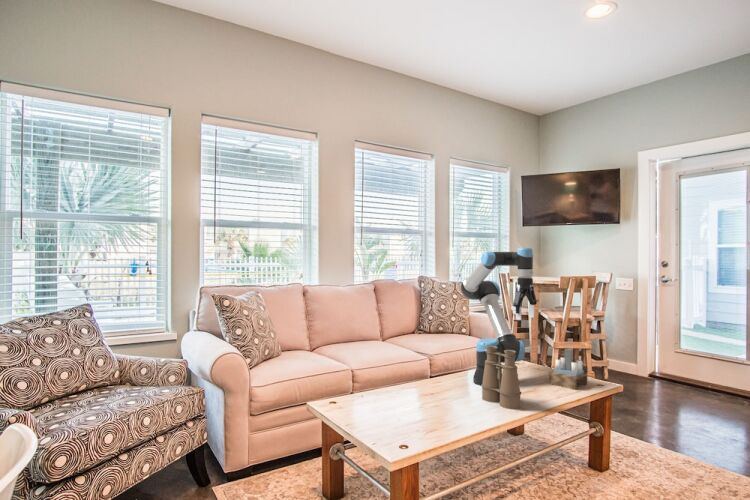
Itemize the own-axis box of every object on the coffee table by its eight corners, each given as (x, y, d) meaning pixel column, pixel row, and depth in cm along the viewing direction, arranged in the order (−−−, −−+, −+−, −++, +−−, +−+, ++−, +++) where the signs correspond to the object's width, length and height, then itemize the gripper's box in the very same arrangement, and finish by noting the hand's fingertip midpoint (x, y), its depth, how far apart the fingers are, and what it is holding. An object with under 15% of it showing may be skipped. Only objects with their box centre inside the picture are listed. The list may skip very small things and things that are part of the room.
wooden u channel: (549, 383, 226) (548, 366, 226) (561, 378, 236) (561, 361, 236) (575, 389, 216) (575, 371, 216) (587, 384, 226) (587, 366, 226)
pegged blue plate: (553, 371, 228) (553, 348, 228) (562, 368, 234) (561, 346, 235) (576, 376, 219) (576, 352, 219) (584, 373, 225) (584, 349, 226)
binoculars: (476, 397, 203) (476, 346, 203) (490, 394, 208) (490, 344, 209) (511, 411, 186) (511, 354, 186) (526, 406, 191) (525, 351, 192)
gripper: (519, 278, 206) (519, 321, 205) (543, 277, 222) (543, 317, 222) (505, 278, 211) (505, 320, 211) (530, 276, 228) (530, 315, 228)
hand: (525, 318), depth 217 cm, fingers open, 13 cm apart
